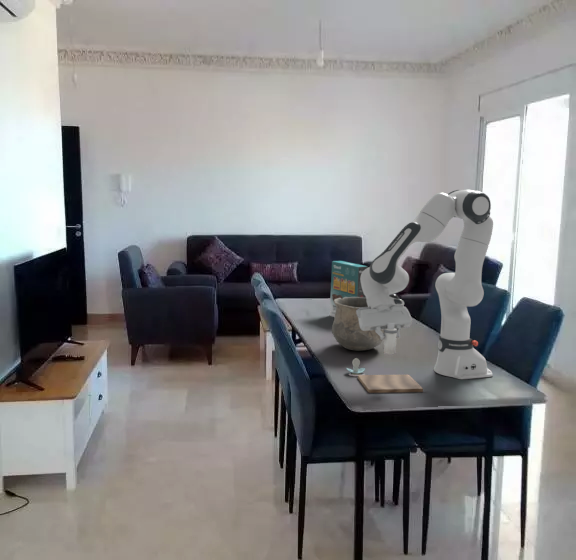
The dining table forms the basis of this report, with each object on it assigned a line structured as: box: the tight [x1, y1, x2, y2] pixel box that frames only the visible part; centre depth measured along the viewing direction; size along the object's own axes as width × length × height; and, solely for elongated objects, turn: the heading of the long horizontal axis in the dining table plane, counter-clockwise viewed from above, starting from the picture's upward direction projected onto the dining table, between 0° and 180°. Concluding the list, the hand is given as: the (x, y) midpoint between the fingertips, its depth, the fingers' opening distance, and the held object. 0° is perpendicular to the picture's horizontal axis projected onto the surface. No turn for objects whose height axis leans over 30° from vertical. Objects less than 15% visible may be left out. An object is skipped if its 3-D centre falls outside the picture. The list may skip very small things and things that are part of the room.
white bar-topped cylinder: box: [383, 323, 397, 356], centre depth 227 cm, size 5×5×11 cm
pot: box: [331, 297, 384, 352], centre depth 275 cm, size 25×24×21 cm
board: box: [357, 374, 424, 394], centre depth 230 cm, size 20×16×1 cm
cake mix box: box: [329, 260, 369, 318], centre depth 330 cm, size 22×6×30 cm, turn 34°
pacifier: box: [346, 357, 366, 378], centre depth 240 cm, size 7×6×6 cm
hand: (391, 338), depth 226 cm, fingers closed on white bar-topped cylinder, 4 cm apart
